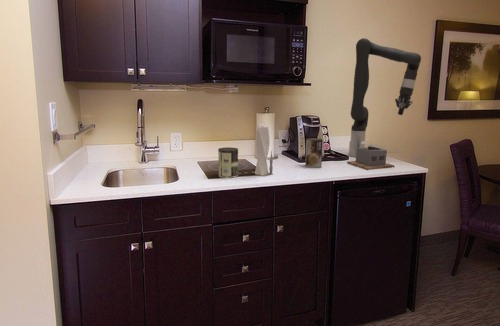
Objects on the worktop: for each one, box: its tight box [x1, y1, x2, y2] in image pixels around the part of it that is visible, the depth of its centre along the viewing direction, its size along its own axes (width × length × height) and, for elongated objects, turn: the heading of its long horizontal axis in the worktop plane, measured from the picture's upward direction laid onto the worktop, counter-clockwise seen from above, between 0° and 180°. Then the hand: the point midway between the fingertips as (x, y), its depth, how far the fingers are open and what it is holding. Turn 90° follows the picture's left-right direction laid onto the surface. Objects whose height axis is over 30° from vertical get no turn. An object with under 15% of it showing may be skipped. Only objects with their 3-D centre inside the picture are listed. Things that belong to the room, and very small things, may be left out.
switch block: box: [355, 146, 388, 166], centre depth 217 cm, size 12×12×10 cm
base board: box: [346, 160, 396, 171], centre depth 218 cm, size 18×20×1 cm
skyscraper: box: [254, 121, 274, 178], centre depth 191 cm, size 8×8×28 cm
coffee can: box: [217, 146, 239, 179], centre depth 188 cm, size 10×10×14 cm
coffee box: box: [304, 137, 323, 168], centre depth 212 cm, size 9×6×16 cm
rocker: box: [361, 140, 384, 149], centre depth 216 cm, size 6×11×2 cm, turn 112°
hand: (400, 114), depth 230 cm, fingers closed
